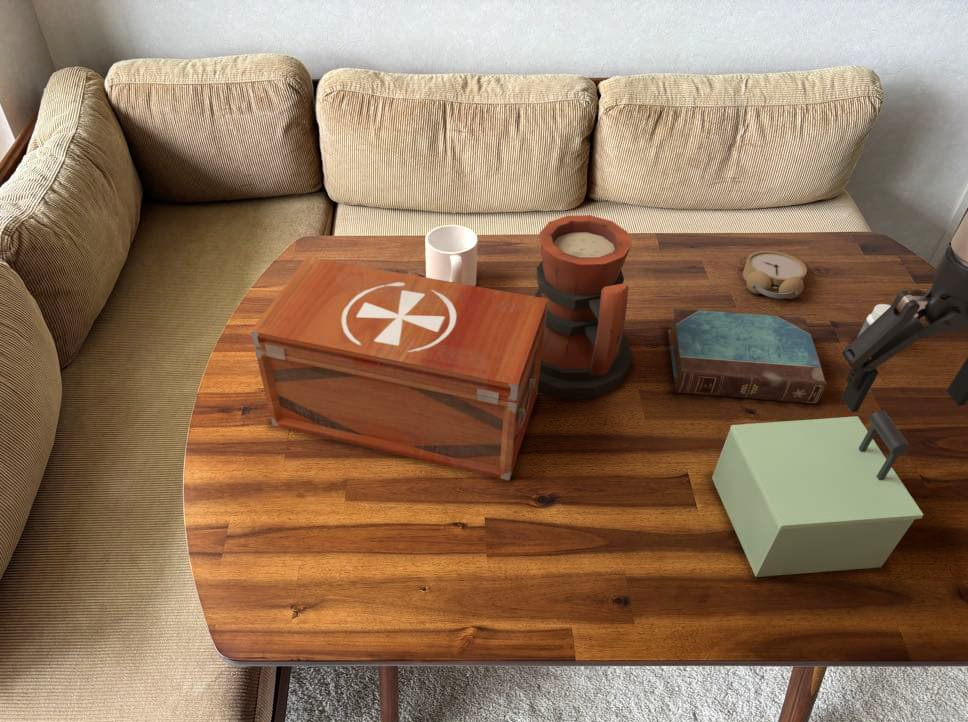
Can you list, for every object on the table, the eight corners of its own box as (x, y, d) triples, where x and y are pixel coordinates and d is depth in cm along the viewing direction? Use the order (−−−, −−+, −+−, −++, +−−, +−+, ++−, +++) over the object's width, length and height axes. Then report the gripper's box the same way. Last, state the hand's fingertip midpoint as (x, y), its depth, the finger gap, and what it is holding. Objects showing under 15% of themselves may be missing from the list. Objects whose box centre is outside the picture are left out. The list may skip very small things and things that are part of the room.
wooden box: (320, 347, 140) (306, 255, 126) (539, 392, 131) (550, 297, 117) (270, 425, 127) (248, 330, 113) (511, 481, 117) (520, 386, 103)
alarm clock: (805, 255, 154) (812, 286, 142) (797, 277, 156) (803, 310, 145) (746, 246, 156) (748, 276, 144) (740, 269, 159) (741, 300, 147)
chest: (824, 469, 118) (850, 420, 110) (881, 567, 105) (914, 519, 98) (711, 478, 117) (729, 429, 109) (755, 577, 105) (779, 529, 97)
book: (675, 394, 130) (682, 372, 127) (667, 329, 142) (673, 307, 139) (816, 406, 128) (827, 384, 124) (796, 338, 140) (805, 316, 136)
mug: (423, 271, 157) (422, 227, 150) (471, 266, 158) (472, 222, 151) (431, 308, 148) (430, 263, 141) (482, 303, 149) (484, 258, 142)
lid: (855, 420, 110) (877, 378, 105) (921, 518, 98) (950, 478, 92) (729, 428, 109) (745, 388, 104) (779, 529, 97) (800, 489, 91)
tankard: (599, 310, 147) (619, 194, 130) (660, 398, 130) (693, 277, 112) (490, 330, 143) (495, 214, 126) (537, 423, 126) (552, 303, 109)
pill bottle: (859, 356, 136) (878, 319, 130) (850, 339, 139) (867, 302, 134) (886, 356, 136) (906, 319, 130) (876, 339, 139) (895, 302, 133)
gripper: (1077, 232, 84) (981, 375, 99) (855, 243, 83) (792, 386, 98) (1126, 271, 79) (1017, 416, 94) (890, 284, 78) (817, 428, 93)
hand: (902, 401), depth 96 cm, fingers open, 13 cm apart
